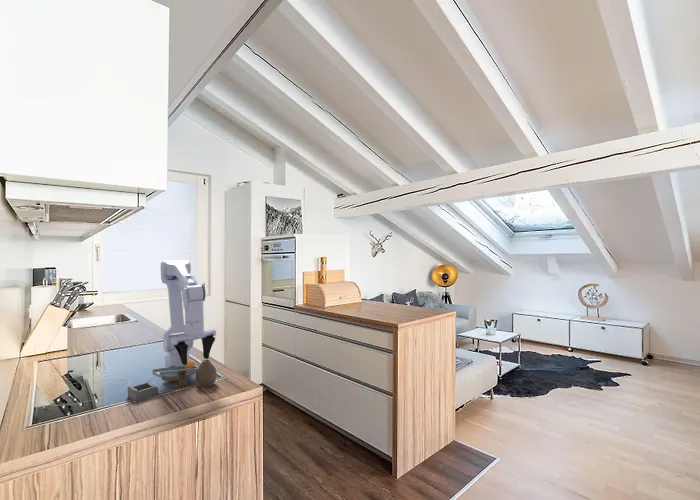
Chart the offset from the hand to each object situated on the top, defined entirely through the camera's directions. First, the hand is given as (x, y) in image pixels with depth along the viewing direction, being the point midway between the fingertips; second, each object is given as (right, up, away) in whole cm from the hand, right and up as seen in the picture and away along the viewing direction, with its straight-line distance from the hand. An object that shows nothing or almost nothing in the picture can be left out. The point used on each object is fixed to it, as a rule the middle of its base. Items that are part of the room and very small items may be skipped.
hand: (195, 361), depth 120 cm
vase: (+2, -10, +5) cm, 12 cm away
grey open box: (-16, -11, -3) cm, 19 cm away
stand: (-9, -10, +6) cm, 15 cm away
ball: (-6, -4, +10) cm, 12 cm away
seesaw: (-7, -6, +3) cm, 9 cm away
